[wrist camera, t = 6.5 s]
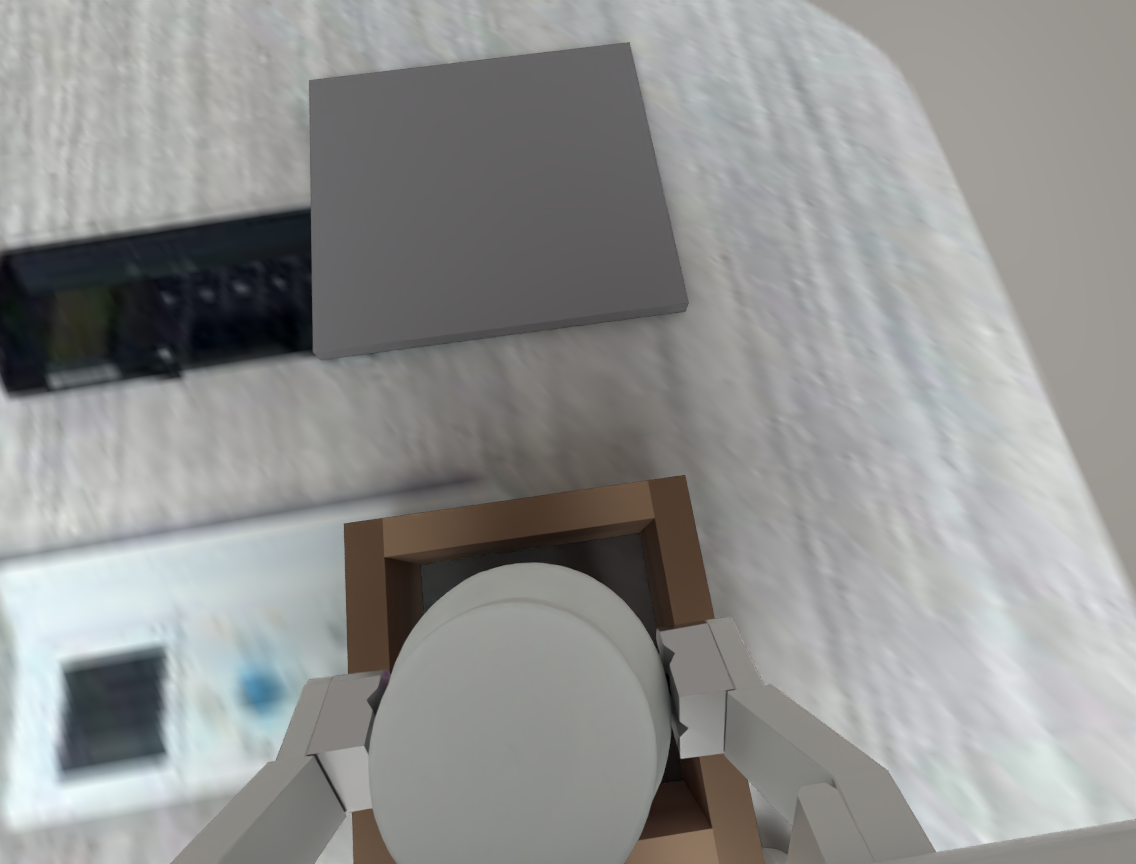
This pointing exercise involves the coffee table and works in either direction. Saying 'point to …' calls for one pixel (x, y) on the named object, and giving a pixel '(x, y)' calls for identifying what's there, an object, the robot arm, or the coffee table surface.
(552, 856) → the pill bottle
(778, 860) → the adjustable wrench
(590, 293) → the charcoal mat
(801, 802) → the robot arm
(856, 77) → the coffee table surface
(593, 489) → the walnut collar
